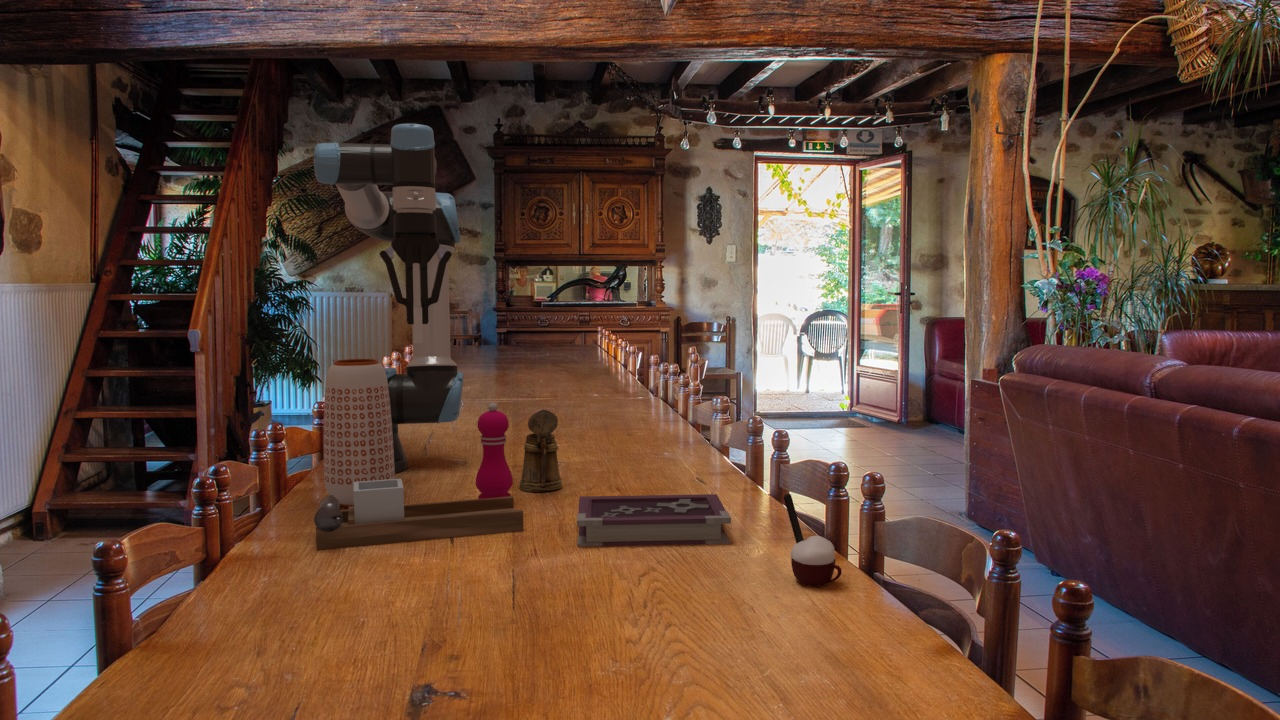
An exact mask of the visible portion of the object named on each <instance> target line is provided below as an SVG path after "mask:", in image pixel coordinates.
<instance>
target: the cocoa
mask: <svg viewBox="0 0 1280 720" xmlns="http://www.w3.org/2000/svg"><path fill="white" fill-rule="evenodd" d="M783 500H784V503H785V507H786V510H787V515H788V518H789V521H790V525H791V528H792V533H793V536H794V539H795V544H794V545H793V547H792V548H791V551H790V558H791V563H790V564H791V569H792V573H793V576H794V578H795V579H796V581H798V582H799V583H800V584H802V585H804V586H806V587H807V586H808V587H811V588H812V587H816V588H818V587H823V586H825V585H827V584H831V583H833V582H835V581H837V580H838V579H839V578H840V577H841V576H842V572H843V571H842V568H841V566H839V565H837V564H836V556H835V546H834V544H833V543H832V542H831V541H830V540H829V539H827V538H825V537H823V536H820V535H811V536H809V537H808V538H806V539H804V537H803V531H802V529H801V526H800V522H799V519H798V516H797V511H796V507H795V504H794V501H793V498H792V494H791V493H785V494H784V495H783ZM835 569H836V570H837V575H836V576H835V577H833V575H834V572H835Z"/></svg>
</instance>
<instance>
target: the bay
mask: <svg viewBox="0 0 1280 720" xmlns="http://www.w3.org/2000/svg"><path fill="white" fill-rule="evenodd" d="M340 510H341V512H342V514H343V521H342V524H341V525H340V527H339V528H338V529H336V530H335V531H334V530H333V529H334V527H333V528H332V530H333V531H332V532H324V531H325V530H326V529H327V530H328V529H329V528H323V529H325V530H324V531H321V530H320V529H318V528H317V527H316V526H315V527H316V528H315V537H316V538H315V540H316V551H317V550H319V551H320V550H329V549H330V550H333V549H342V548H352V547H363V546H373V545H382V544H383V545H384V544H396V543H405V542H417V541H425V540H428V541H429V540H437V539H439V540H440V539H448V538H450V539H451V538H459V537H470V536H481V535H490V534H499V533H501V534H502V533H512V532H521V531H524V510H523V509H515V508H514V496H513V495H512V496H509V497H497V498H485V499H478V498H476V499H475V498H474V499H473V498H472V499H463V500H461V499H460V500H450V501H438V502H437V501H436V502H425V503H423V502H422V503H412V504H411V503H410V504H404V520H395V521H384V522H372V523H360V524H355V517H354V506H351V507H348V509H340ZM335 528H337V527H335ZM330 529H331V528H330ZM328 531H329V530H328ZM330 531H331V530H330Z"/></svg>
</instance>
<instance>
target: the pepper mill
mask: <svg viewBox="0 0 1280 720" xmlns="http://www.w3.org/2000/svg"><path fill="white" fill-rule="evenodd" d="M487 409H488V411H484V412H483V413H482V414H481V415H480V416H479V418H478V419H477V429H478V432H480V434H481V436H480V442H479V443H480V444H481V445H482V451H483V452H482V460H481V463H480V465H479V468H478V470H477V473H476V477H475V487H476V489H477V490H478V491H479V492H480V494H479V495H478V498H477V499H485V498H497V497H509V496H511V494H510V493H509V491H510V490H511V488H512V487H513V483H514V480H513V475H512V474H513V473H512V471H511V468H510V467H509V465H508V462H507V460H506V456H505V444H506V443H507V439H506V438H507V435H506V432H507V431H508V429H509V425H510V423H509V419H508V417H507V415H506V414H505V413H504V412H502V411H499V410H498V404H497V403H494V402H491V403H489V405H488V408H487Z"/></svg>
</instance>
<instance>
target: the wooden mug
mask: <svg viewBox="0 0 1280 720" xmlns="http://www.w3.org/2000/svg"><path fill="white" fill-rule="evenodd" d="M558 420H559V419H558V417H557V415H556V414H555V413H553V412H551V411H549V410H547V409H541V410H539V411H537V412H535V413H533V414H532V415H531V416H530V417H529V418H528V422H527V426H528V429H529V431H531V432H532V433H529V434H527V435H526V439H525V442H524V445H523V446H524V447H523V450H524V454H523V455H524V457H523V465H522V472H521V479H520V481H519V489H520V490H521V491H523V492H527V493H550V492H555V491H558V490H560V489H561V488H562V487H563V482H562V477H561V475H560V469H559V462H558V454H557V451H559V448H558V443H557V441H556V437H555V435H554V434H553V433H554V432H555V430H556V429H557V428H558V422H559V421H558Z"/></svg>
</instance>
